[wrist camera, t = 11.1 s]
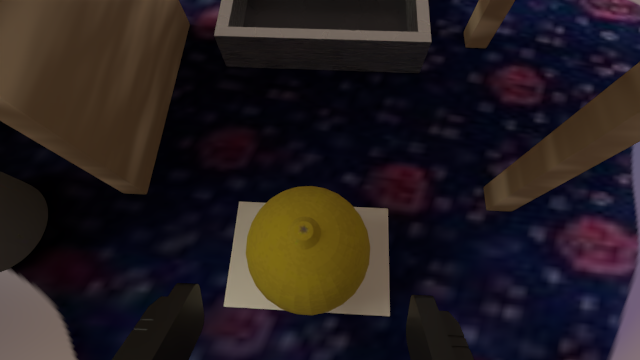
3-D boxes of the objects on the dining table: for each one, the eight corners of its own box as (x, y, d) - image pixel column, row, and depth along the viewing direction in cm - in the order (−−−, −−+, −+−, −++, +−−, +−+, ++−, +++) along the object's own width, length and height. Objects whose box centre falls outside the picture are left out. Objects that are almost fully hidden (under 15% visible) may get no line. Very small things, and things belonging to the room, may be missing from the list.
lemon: (379, 250, 19) (413, 212, 12) (323, 336, 18) (321, 354, 10) (302, 197, 21) (289, 132, 13) (243, 273, 19) (190, 248, 12)
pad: (225, 306, 19) (223, 306, 18) (240, 203, 21) (239, 201, 21) (388, 316, 19) (390, 316, 18) (386, 210, 21) (388, 208, 20)
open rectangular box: (226, 66, 25) (213, 35, 22) (242, -19, 28) (233, -56, 25) (419, 73, 24) (431, 42, 22) (413, -15, 28) (423, -52, 25)
